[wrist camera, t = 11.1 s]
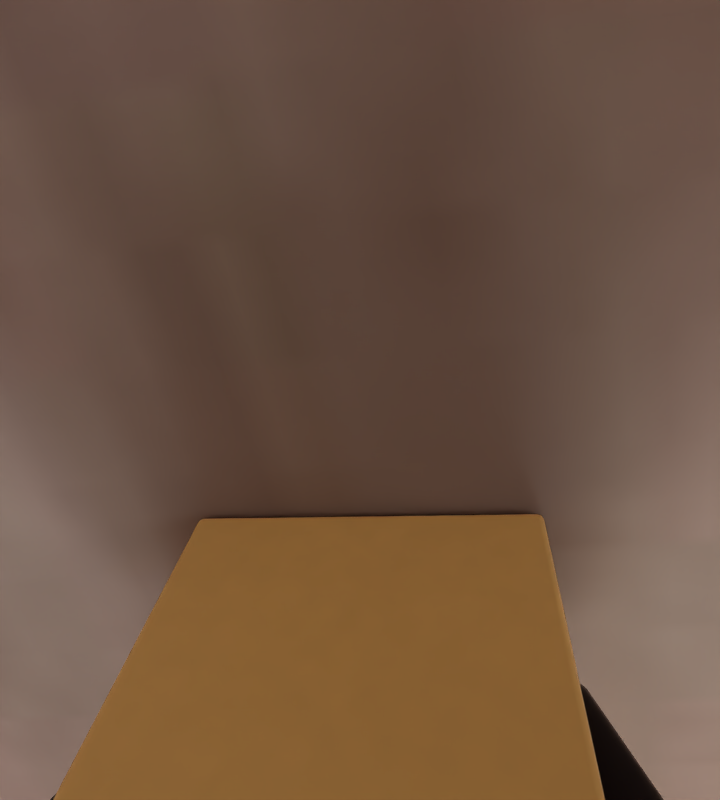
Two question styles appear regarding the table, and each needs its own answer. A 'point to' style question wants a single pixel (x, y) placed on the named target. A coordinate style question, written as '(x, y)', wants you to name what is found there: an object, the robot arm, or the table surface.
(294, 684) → the block
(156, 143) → the table surface
